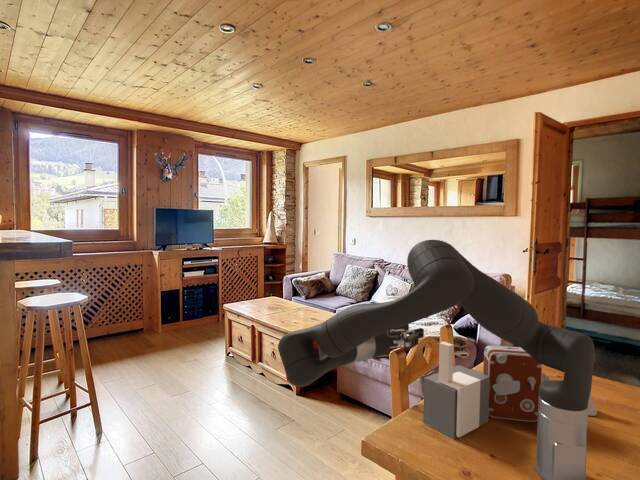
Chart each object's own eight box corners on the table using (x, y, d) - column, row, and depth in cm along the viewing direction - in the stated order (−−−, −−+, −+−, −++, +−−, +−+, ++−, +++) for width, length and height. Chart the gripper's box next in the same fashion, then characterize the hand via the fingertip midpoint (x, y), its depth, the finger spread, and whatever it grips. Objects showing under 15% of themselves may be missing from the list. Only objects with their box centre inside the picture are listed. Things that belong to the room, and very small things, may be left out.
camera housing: (464, 403, 116) (465, 362, 116) (495, 417, 108) (496, 373, 107) (423, 422, 105) (424, 377, 105) (453, 439, 97) (455, 391, 96)
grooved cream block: (457, 415, 107) (459, 337, 106) (479, 426, 101) (481, 343, 100) (437, 425, 102) (439, 342, 101) (458, 437, 96) (461, 350, 95)
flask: (569, 413, 111) (571, 380, 110) (567, 402, 117) (568, 371, 117) (599, 419, 108) (601, 385, 107) (595, 408, 114) (596, 376, 113)
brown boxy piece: (562, 428, 103) (565, 357, 102) (487, 420, 107) (489, 351, 106) (549, 411, 112) (552, 346, 111) (480, 404, 116) (482, 341, 115)
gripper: (385, 334, 77) (439, 321, 86) (343, 318, 88) (394, 309, 98) (385, 369, 77) (438, 353, 87) (342, 349, 89) (393, 337, 98)
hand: (414, 330), depth 92 cm, fingers open, 4 cm apart
